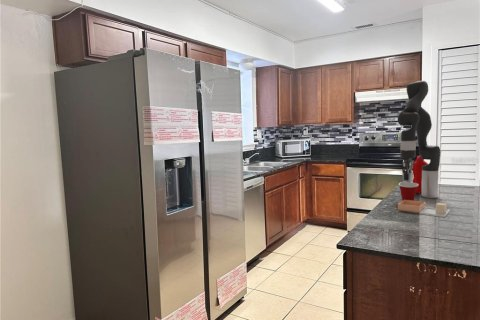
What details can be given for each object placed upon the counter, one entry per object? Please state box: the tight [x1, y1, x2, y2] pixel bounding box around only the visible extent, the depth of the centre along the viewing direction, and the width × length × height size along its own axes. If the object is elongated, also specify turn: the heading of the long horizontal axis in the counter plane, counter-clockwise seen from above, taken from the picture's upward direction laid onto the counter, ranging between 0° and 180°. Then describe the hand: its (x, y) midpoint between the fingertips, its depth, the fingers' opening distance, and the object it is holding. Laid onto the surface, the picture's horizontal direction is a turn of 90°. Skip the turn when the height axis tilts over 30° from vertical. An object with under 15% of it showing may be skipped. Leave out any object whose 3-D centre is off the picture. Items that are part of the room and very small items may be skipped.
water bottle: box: [412, 155, 429, 194], centre depth 225 cm, size 9×11×25 cm
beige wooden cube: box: [435, 202, 448, 215], centre depth 174 cm, size 4×4×5 cm
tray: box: [419, 206, 451, 218], centre depth 176 cm, size 14×12×1 cm
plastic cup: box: [398, 181, 418, 201], centre depth 198 cm, size 11×11×12 cm
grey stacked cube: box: [401, 171, 414, 182], centre depth 183 cm, size 4×4×5 cm
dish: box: [397, 200, 426, 214], centre depth 183 cm, size 12×11×4 cm
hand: (407, 179), depth 183 cm, fingers closed on grey stacked cube, 4 cm apart
